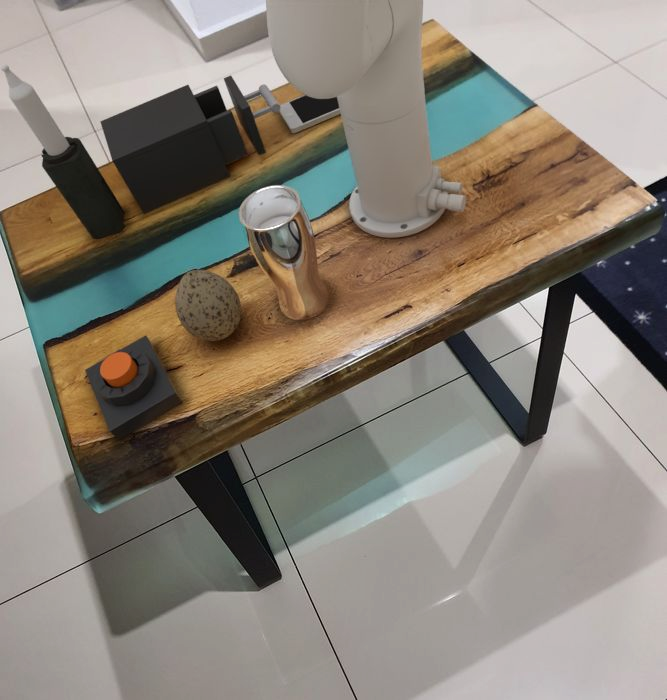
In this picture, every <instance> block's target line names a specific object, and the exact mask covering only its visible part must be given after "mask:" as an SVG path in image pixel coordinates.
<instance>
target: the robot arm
mask: <svg viewBox="0 0 667 700" xmlns="http://www.w3.org/2000/svg"><path fill="white" fill-rule="evenodd" d="M265 11H266V25H267V34H268V40H269V46H270V49H271V53H272V56H273V58H274V61H275V64H276V65H277V67H278V69H279V71H280V72H281V74H282V75H283V77H284V78H285V81H287V82H288V83H289V84H290V85H291V87H293V88H294V89H295V90H297V92H299V93H301V94H302V95H307V96H309V97H312V98H316V99H329V98H334V97H337V100H338V104H339V109H340V113H341V114H340V118H341V121H342V127H343V131H344V135H345V139H346V143H347V149H348V152H349V157H350V161H351V166H352V170H353V175H354V180H355V183H356V186H355V187H354V189H353V191H352V193H351V194H350V198H349V202H348V203H349V204H348V205H349V206H348V208H349V212H350V217H351V219H352V220H353V223H354V224H355V225H356V226H357V227H358V228H359V229H360V230H361V231H363V232H365V233H367V234H369V235H372V236H375V237H379V238H389V239H393V238H402V237H408V236H411V235H414V234H418V233H420V232H421V231H424V230H426V229H427V228H429V227H430V226H432V225H433V224H435V223H436V222H437V221H438V220H439V219H440V218H441V216H442V215H443V214H444V212H445V210H447V211H453V212H459V213H463V212H464V211H465V209H466V205H467V196H466V195H462V191H463V182H457V181H447V180H446V179H445V178H442V173H441V172H442V171H441V166H440V165H433V162H432V152H431V141H430V140H431V139H430V131H429V122H428V113H427V111H428V110H427V102H426V94H425V93H426V90H425V81H424V70H423V69H424V68H423V67H424V66H423V54H422V51H423V50H422V47H423V46H422V38H423V37H422V36H423V35H422V34H423V19H424V0H265Z"/></svg>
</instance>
